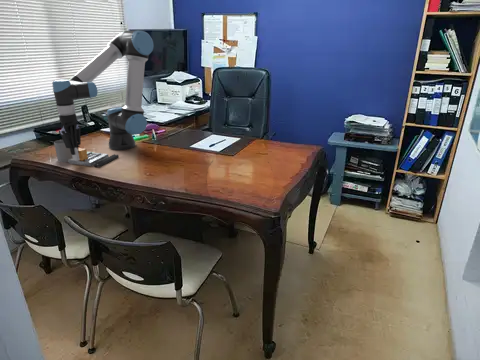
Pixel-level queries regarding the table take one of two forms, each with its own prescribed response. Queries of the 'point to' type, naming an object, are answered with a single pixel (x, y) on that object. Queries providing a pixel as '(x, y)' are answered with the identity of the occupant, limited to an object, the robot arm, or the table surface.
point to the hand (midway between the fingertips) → (76, 160)
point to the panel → (89, 159)
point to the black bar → (106, 160)
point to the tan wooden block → (82, 154)
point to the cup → (62, 151)
